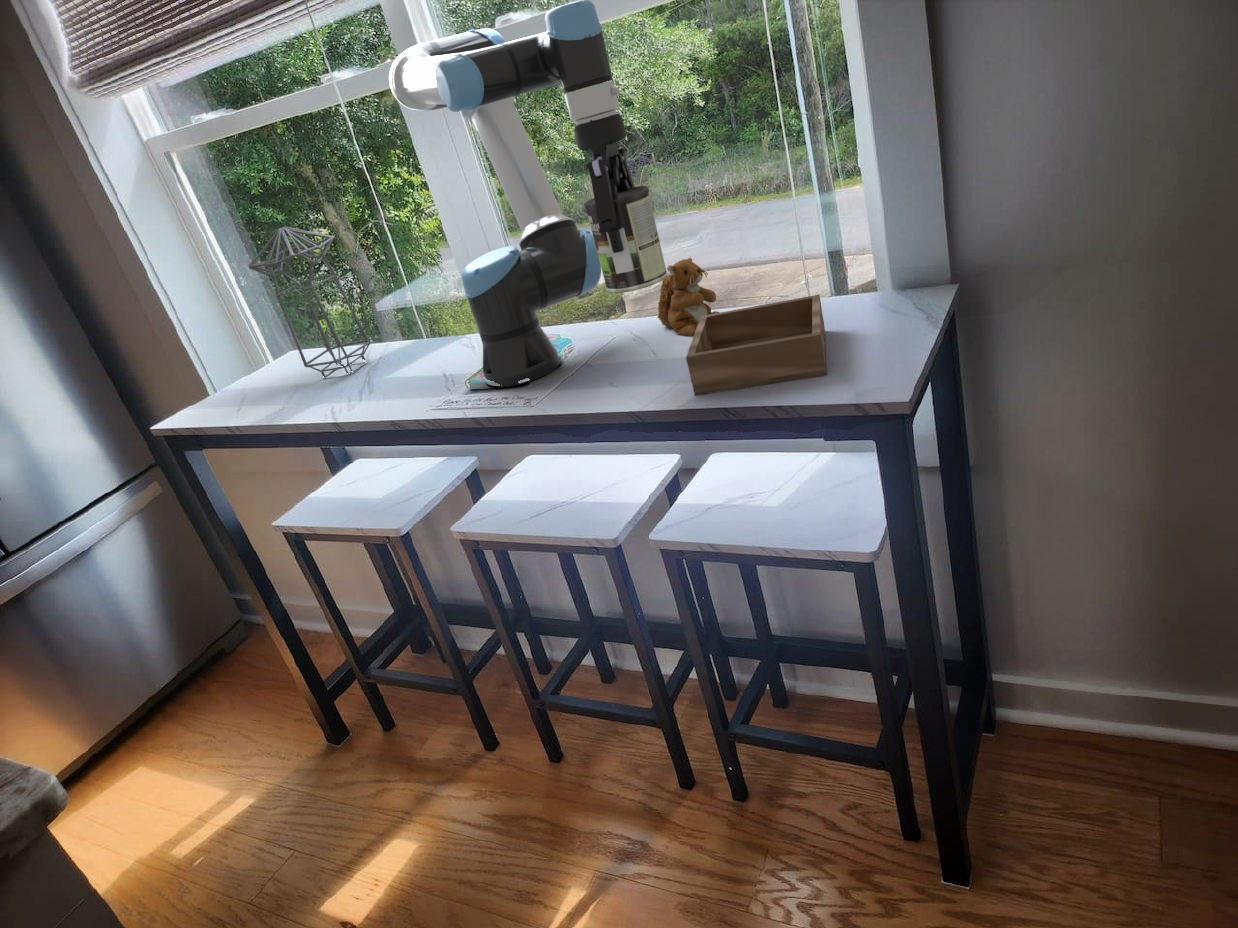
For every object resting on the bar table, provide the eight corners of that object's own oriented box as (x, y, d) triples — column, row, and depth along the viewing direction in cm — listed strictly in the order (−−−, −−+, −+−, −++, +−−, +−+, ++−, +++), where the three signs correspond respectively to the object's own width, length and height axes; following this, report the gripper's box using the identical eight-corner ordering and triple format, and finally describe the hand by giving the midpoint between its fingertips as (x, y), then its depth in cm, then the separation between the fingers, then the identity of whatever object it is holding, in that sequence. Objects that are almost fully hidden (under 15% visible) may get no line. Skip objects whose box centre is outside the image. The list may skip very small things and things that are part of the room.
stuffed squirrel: (693, 337, 161) (678, 270, 156) (646, 332, 172) (631, 268, 167) (730, 318, 166) (717, 252, 161) (682, 314, 177) (668, 252, 172)
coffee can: (615, 297, 133) (591, 206, 127) (600, 287, 142) (577, 202, 136) (677, 277, 134) (656, 186, 128) (658, 269, 143) (637, 184, 138)
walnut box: (708, 350, 152) (701, 316, 150) (825, 330, 147) (819, 294, 144) (694, 395, 135) (686, 357, 132) (826, 375, 129) (820, 334, 126)
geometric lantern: (352, 380, 195) (286, 230, 181) (300, 389, 202) (232, 244, 187) (389, 354, 208) (330, 211, 193) (338, 363, 214) (278, 225, 200)
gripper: (601, 119, 117) (640, 277, 126) (636, 104, 136) (668, 242, 145) (550, 133, 119) (593, 287, 128) (592, 116, 139) (626, 251, 148)
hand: (632, 263), depth 137 cm, fingers closed on coffee can, 10 cm apart
